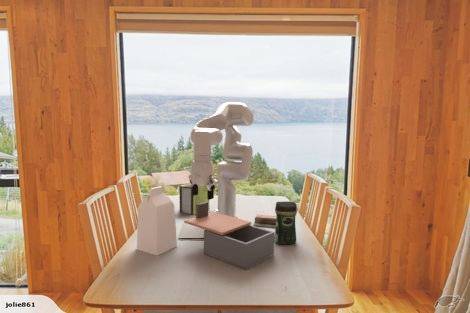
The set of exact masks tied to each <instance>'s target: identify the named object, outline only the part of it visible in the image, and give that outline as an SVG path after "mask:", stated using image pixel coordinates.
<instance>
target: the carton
mask: <svg viewBox="0 0 470 313" xmlns="http://www.w3.org/2000/svg"><path fill="white" fill-rule="evenodd" d="M274 237H275V231H272V230H269V229H265V228H263V227H259V226H254V225H252V224H251V225H248V226H245V227H243V228H240V229H237V230H235V231H232V232H229V233H227V234H224V235H220V234H217V233H214V232H211V231H208V230H205V229H203V254H204V255H205V256H208V257H210V258H213V259H216V260H217V261H218V260H219V261H221V262H224V263H226V264H229V265H231V266H233V267H237V268H239V269H241V270H244V271H248V270H250V269H251V268H253V267H255V266H257V265H259V264H260V263H262V262H265V261H266V260H268V259H271V258H272V257H274V255H275V240H274Z"/></svg>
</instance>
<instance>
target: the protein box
mask: <svg viewBox="0 0 470 313" xmlns="http://www.w3.org/2000/svg"><path fill="white" fill-rule="evenodd" d="M197 186H198V195H194V196H193V195H192V186H191V183H190V182H189V183H185V184H181V185H179V212H180V213H184V214H188V215H192V216H194V215H196V204H199V203H203V202H208V210H210V200H208V199H207V191H208V188H207V186H202V185H197ZM209 186H210V185H209ZM210 187H211V186H210Z"/></svg>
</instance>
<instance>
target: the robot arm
mask: <svg viewBox="0 0 470 313" xmlns="http://www.w3.org/2000/svg"><path fill="white" fill-rule="evenodd" d="M253 122H254V113H253V111H252V110H251V109H250V107H248V105H247V104H245V103H243V102H225V103H222V104H221V105H220V106H219V107H218V109H217V110H216V111H215V113H214V114H213V115H211V116H209V117H206V118H203V119H201V120H200V121H197V123H195V125H194V126H193V128H192V130H191V132H190V140H191V142H192V144H193V156H192V157H193V161H192V163H191V170H190V171H191V172H190V174H189V175H188V179H189V183H191V186H192V195H193V196H194V195H198V186H197V185H202V186H207V188H208V191H207V199H208V200H209V201H210V200H212V199H214V196H215V195H214V194H215V193H214V192H215V189H216V188H217V209H214V211H213V212H217V213H220V214H224V215H228V216H231V217H235V218H238V219H239V217H238V216H236V211H237V209H236V206H237V205H236V204H237V203H236V202H237V199H236V198H237V187H236V185H235V182H234V181H239V182H246V181H248V179H249V178H250V174H251V167H252V166H251V165H252V160H253V154H254V153H253V147H252V145H251V144H249V143H248V142H247V143H246V142H244V143H243V142H241V141H242V133H241V132H240V130H239V129H238V127H237V126H241V127H244V126H245V127H249V126H252V124H253ZM223 130H224V131H225V136H223V133H222V131H223ZM223 137H225V139H224V144H223V149H222V157H223V159H225V160H227V161H225V160H224V161H221V162H219V163H218V164H217V165H216V169H215V170H216V177H217V179H216V178H215V177H214V166H213V161H212V146H218V145H220V144H221V142H222V141H223ZM209 185H210V186H209Z"/></svg>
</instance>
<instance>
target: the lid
mask: <svg viewBox="0 0 470 313" xmlns="http://www.w3.org/2000/svg"><path fill="white" fill-rule="evenodd" d="M183 223H184V224H188V225H189V226H190V225H191V226H194V227H196V228H199V229H201V230H208V231H211V232H214V233H217V234H220V235H224V234H227V233H229V232H232V231H235V230H237V229H240V228H243V227H245V226H248V225H252V221H248V220H245V219H241V218H239V217H238V218H235V217H231V216H228V215H224V214H220V213H217V212H214V211H212V212H209V209H208V202H203V203H199V204H196V214H195V217H191V218H188V219H185V220H184V222H183Z"/></svg>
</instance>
